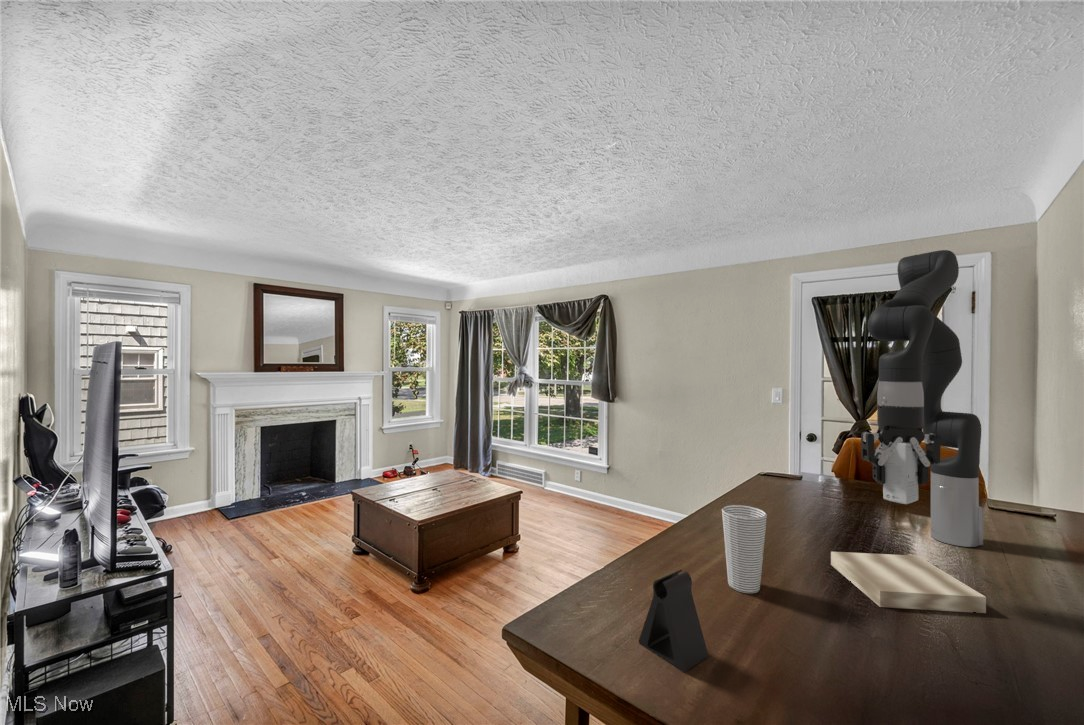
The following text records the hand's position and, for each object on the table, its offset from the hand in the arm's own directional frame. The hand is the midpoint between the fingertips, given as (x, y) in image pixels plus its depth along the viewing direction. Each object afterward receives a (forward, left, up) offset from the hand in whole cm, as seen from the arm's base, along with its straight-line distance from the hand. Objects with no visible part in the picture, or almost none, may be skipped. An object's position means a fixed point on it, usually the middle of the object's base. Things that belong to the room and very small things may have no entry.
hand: (900, 483), depth 93 cm
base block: (0, 0, -21) cm, 21 cm away
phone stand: (+50, +27, -21) cm, 61 cm away
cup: (+32, +4, -21) cm, 39 cm away
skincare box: (0, 0, -4) cm, 4 cm away
